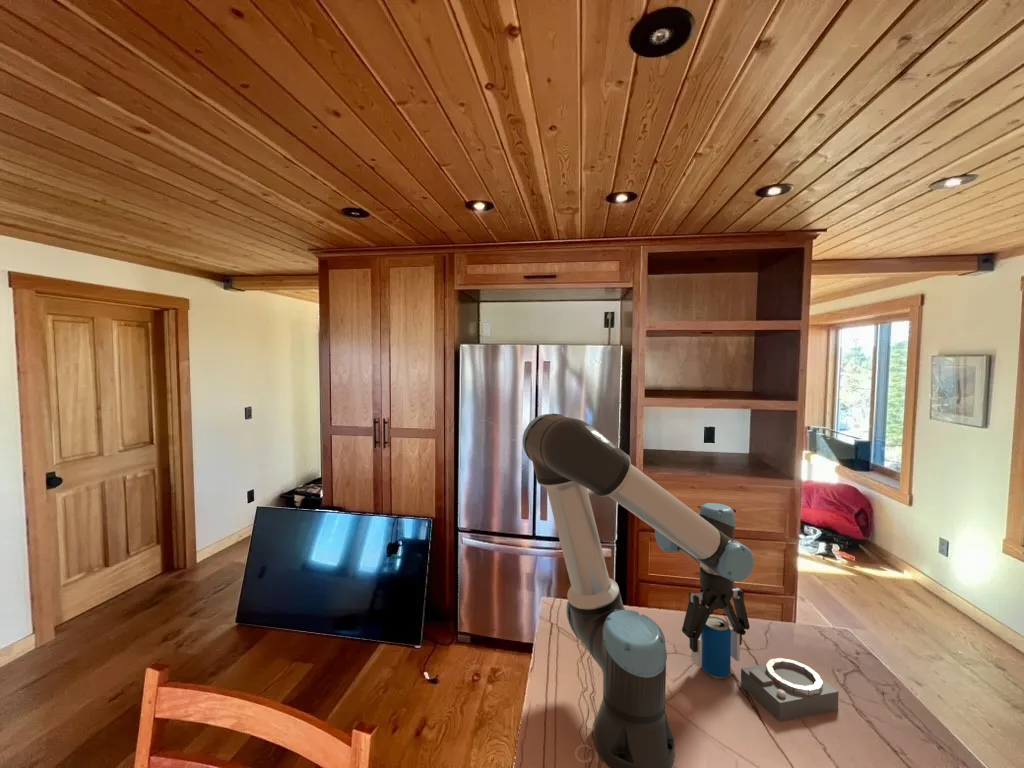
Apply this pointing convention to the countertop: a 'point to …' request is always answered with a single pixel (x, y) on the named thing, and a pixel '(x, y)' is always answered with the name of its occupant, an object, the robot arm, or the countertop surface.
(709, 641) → the beverage can
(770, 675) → the mount ring
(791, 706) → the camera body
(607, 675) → the robot arm
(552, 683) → the countertop surface
